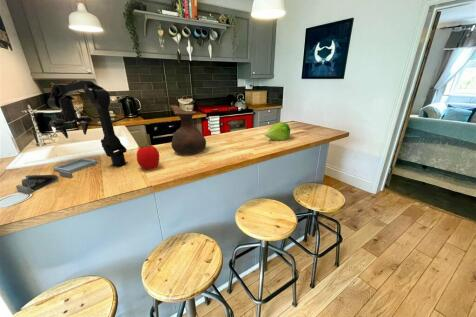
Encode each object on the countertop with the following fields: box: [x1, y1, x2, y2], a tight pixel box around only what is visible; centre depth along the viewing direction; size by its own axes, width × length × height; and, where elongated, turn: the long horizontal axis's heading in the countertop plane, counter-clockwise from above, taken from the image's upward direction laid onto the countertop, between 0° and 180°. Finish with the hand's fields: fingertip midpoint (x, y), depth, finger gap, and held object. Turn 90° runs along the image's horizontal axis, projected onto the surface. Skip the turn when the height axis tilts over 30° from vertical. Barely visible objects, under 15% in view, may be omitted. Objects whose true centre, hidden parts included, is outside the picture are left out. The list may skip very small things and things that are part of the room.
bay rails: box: [15, 171, 74, 195], centre depth 92 cm, size 8×17×3 cm, turn 159°
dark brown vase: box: [169, 105, 207, 156], centre depth 127 cm, size 22×22×30 cm
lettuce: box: [264, 121, 291, 142], centre depth 151 cm, size 15×22×15 cm, turn 115°
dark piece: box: [21, 174, 60, 193], centre depth 89 cm, size 10×7×12 cm
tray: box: [53, 157, 99, 174], centre depth 110 cm, size 12×15×2 cm
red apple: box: [136, 143, 160, 170], centre depth 107 cm, size 12×12×13 cm
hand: (76, 136), depth 115 cm, fingers open, 9 cm apart
